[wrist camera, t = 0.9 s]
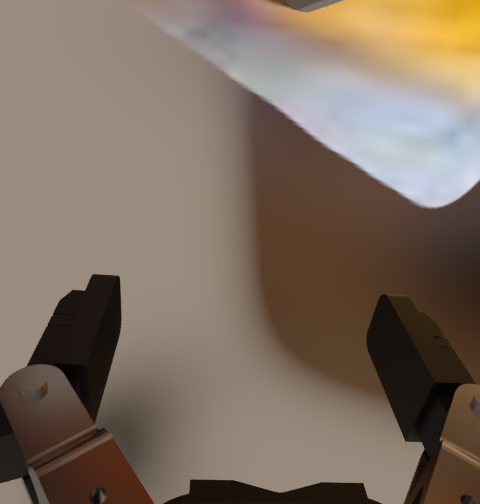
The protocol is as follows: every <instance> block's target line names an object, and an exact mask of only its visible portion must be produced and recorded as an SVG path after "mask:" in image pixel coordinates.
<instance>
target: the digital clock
mask: <svg viewBox="0 0 480 504" xmlns="http://www.w3.org/2000/svg"><path fill="white" fill-rule="evenodd" d="M340 1H343V0H286V2H287V4H288V5H289V6H290V8H292V9H294V10H297V11H302V12H311V11H314V10H317V9H320V8H323V7H326V6H328V5H331V4H334V3H337V2H340Z"/></svg>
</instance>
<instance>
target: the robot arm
mask: <svg viewBox="0 0 480 504" xmlns="http://www.w3.org/2000/svg"><path fill="white" fill-rule="evenodd" d="M120 329H121V292H120V277H119V276H113V275H98V274H97V275H96V274H93V275H92V276H91V279H90V281H89V283H88V286H87V288H86V290H85V291H81V290H72V291H71V292H70V293H68V294H67V295H66V296H65V297H63V298H62V299H61V300H60V301H59V303H58V305H57V307H56V309H55V311H54V313H53V316H52V317H51V319H50V321H49V323H48V327H46V329H45V331H44V333H43V335H42V337H41V339H40V341H39V343H38V345H37V347H36V349H35V351H34V353H33V355H32V357H31V359H30V361H29V363H28V365H27V366H26V367H25V368H22V369H20V370H18V371H16V372H15V373H13V374H12V375H10V376H9V377H8V378H7V379H6V380H5V381H4V383H3V384H2V386H1V387H0V483H3V482H7V481H10V480H14V479H18V478H21V480H22V483H23V485H24V488H25V490H26V493H27V495H28V497H29V500H30V502H31V504H154V503H153V501H152V499H151V498H150V496H149V495H148V493H147V492H146V490H145V488H144V487H143V485H142V483H141V482H140V480H139V479H138V477H137V476H136V474H135V472H134V471H133V469H132V468H131V466H130V464H129V463H128V461H127V460H126V458H125V456H124V455H123V453H122V452H121V450H120V449H119V447H118V445H117V444H116V443H115V440H114V439H113V437H112V436H111V434H110V433H109V432H108V431H107V430H106V429H105V428H102V429H100V430H98V428H97V427H96V426H95V421H96V418H97V414H98V411H99V407H100V403H101V400H102V396H103V393H104V389H105V385H106V382H107V379H108V375H109V371H110V368H111V364H112V361H113V357H114V353H115V350H116V346H117V343H118V339H119V335H120ZM366 340H367V349H368V352H369V354H370V357H371V359H372V362H373V364H374V366H375V369H376V371H377V374H378V376H379V379H380V381H381V383H382V386H383V388H384V391H385V393H386V395H387V398H388V400H389V403H390V405H391V408H392V410H393V412H394V415H395V417H396V419H397V422H398V424H399V427H400V429H401V432H402V434H403V437H404V439H405V441H408V442H422V444H423V446H424V448H425V449H424V451H423V453H422V455H421V457H420V459H419V462H418V465H417V468H416V471H415V473H414V476H413V479H412V482H411V485H410V488H409V490H408V493H407V496H406V498H405V501H404V504H480V385H476V383H475V382H474V380H473V379H472V377H471V375H470V374H469V372H468V371H467V369H466V368H465V366H464V365H463V363H462V362H461V360H460V359H459V357H458V355H457V354H456V352H455V351H454V350H453V349H452V346H451V345H450V343H449V342H448V340H447V339H445V336H444V334H443V332H442V331H441V329H440V328H439V326H438V325H437V324H436V323H435V322H434V321H433V320H432V319H430V318H429V317H428V316H427V315H426V314H425V313H422V312H418V310H417V309H416V307H415V306H414V304H413V302H412V301H411V299H410V298H409V297H408V296H406V295H392V294H382V295H381V296H380V298H379V300H378V303H377V305H376V309H375V311H374V314H373V317H372V320H371V323H370V326H369V329H368V331H367V339H366ZM163 504H381V503H379V502H377V501H374V500H372V499H368V497H367V494H366V491H365V487H364V484H363V483H327V482H325V483H323V482H322V483H318V484H314V485H310V486H306V487H302V488H299V489H295V490H291V491H288V492H283V493H278V492H274V491H270V490H266V489H263V488H259V487H256V486H252V485H249V484H245V483H241V482H238V481H234V480H190V491H189V494H186V495H182V496H179V497H176V498H174V499H172V500H169V501H167V502H165V503H163Z"/></svg>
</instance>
